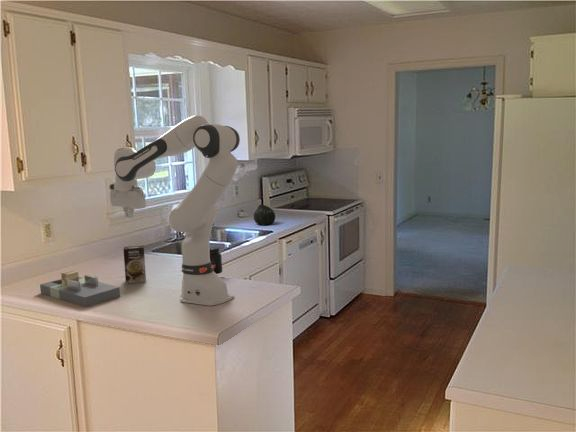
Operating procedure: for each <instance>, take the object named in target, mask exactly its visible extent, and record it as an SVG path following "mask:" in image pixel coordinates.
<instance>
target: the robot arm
mask: <svg viewBox="0 0 576 432" xmlns="http://www.w3.org/2000/svg"><path fill="white" fill-rule="evenodd" d="M240 140H241V139H240V134H239V132H238V131H237V130H236V129H235V128H233V127H231V126H228V125H221V124H215V123H214V124H209V122H208V120H207V119H206V118H205V117H203V116H202V115H199V114H195V115H192V116H190V117H188V118H186V119H184V120H182V121H181V122H179V123H177V124H176V125H175V126H173V127H172V128H171V129H169V130H168V131H166V132H165V133H164V134H163V135H161V136H160V137H158V138H157V139H154V141H151V142H150V143H149V144H147V145H145V146H143V147H142V148H140V149H138V150H137V151H136V150H135V149H134V148H133V147H131V146H129V147H127V146H126V147H122V148H121V147H120V148H118V149H115V152H114V156H113V162H114V163H113V164H114V165H113V166H114V172H115V181H114V182H113V183H110V184H109V185H108V189H109V190H110V191H109V200H110V204H111V206H112V207H118V208H119V207H122V211H123V213H124V216H125V218H128V219H132V218H133V217H134V216H133V215H134V211H135V209H138V210H140V209H144V208H146V206H147V202H146V201H147V200H146V196H145V193H144V190H143V188H142V187H141V186H138V180H139V179H140V180H141V179H146V178H150V177H152V176H153V175H154V174H155V172H156V163H155V160H158V159H162V158H166V157H173V156H179V155H183V154H186V153H187V152H190V151H191V150H192V149H194V148H196V149H197V150H198V151H199V152H200V153H201V154H202V156H203V157H204V158H207V159H209V161H208V163H207V165H206V167H205V169H203V172H202V173H201V175H200V177H199V178H198V180H197V182H196V184H195V185H194V186H193V188H192V189H191V190H190V191H189V192H188V194H187V195H186V196H185V197H184V198H183V199H182V200H181V202H179V204H178V205H177V206H176V207H174V208H173V209H172V210H171V211H170V212H169V215H168V223H169V226H170V227H171V229H172V230H174V231H176V232H177V233H186V234H185V236H184V239H183V241H182V244H181V256H182V257H181V258H182V263H181V272H182V273H183V274H182V280H181V293H180V294H181V295H180V298H179V300H180V301H179V302H182V303H187V304H188V303H189V304H195V305H201V306H202V305H203V306H209V307H211V306H216V305H221V304H223V303H227V302H228V301H230V300H232V299H233V298H234V294H233V293H230V292H229V291H228V286H227V283H226V282H225V281H224V279H222V278H221V277H220V276H219V274H216V273H215V272H214V269H213V268H215V267H213V266H215V265H212V263H211V261H210V249H209V248H210V241H211V234H212V228H213V225H214V222H215V220H216V218H217V216H218V209H217V207H216V204H217V203H218V202H219V201H220V200H221V199H222V197H223V195H224V193H225V192H226V190H227V189H228V187H229V185H230V184H231V182H232V180H233V178H234V176H235V174H236V172H237V169H238V164H239V163H238V160H237V157H236V156H235V155H234V154H232V152H234V151H236V149H238V147H239V145H240Z"/></svg>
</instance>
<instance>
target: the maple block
mask: <svg viewBox="0 0 576 432" xmlns="http://www.w3.org/2000/svg"><path fill="white" fill-rule="evenodd" d="M60 275H61V278H60V279H62V284H64V285H67V280H69V279H70V280H74V281H77V282H79V277H80V276H79V271H76V270H73V269H71V270H70V269H69V270H67V271H63V272H60Z"/></svg>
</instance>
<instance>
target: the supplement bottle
mask: <svg viewBox="0 0 576 432" xmlns="http://www.w3.org/2000/svg"><path fill="white" fill-rule="evenodd" d="M209 249H210V261H211V263H212V265H215V266H213V267H215V268H213V269H214V272H215V273H216V274H217V275H219V274H221V273H222V272H223V260H222V254H221V253H220V248H219V247H217V246H214V247H213V246H211V247H209Z"/></svg>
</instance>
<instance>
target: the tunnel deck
mask: <svg viewBox="0 0 576 432" xmlns="http://www.w3.org/2000/svg"><path fill="white" fill-rule="evenodd" d="M39 284H40V283H39ZM39 289H40V294H42V295H45V296H48V297H52V298H55V299H58V300H61V301H65V302H68V303H71V304H74V305H76V306H77V305H79V306H81V307H83V308H84V307H85V308H87V307H92V306H94V305H97V304H100V303H104V302H107V301H110V300H114V299H117V298H120V297H121V289H120V286H117V285H112V284H108V283H104V282H100V281H99V278H98V277H97V276H93V275H89V274H85V275H84V277H81V276H79V282H77V281H74V280H70V279H69V280H67V285H64V284H62V279H61V278H59V279H55V280H51V281H47V282H44V283H41V284H40V285H39Z"/></svg>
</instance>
